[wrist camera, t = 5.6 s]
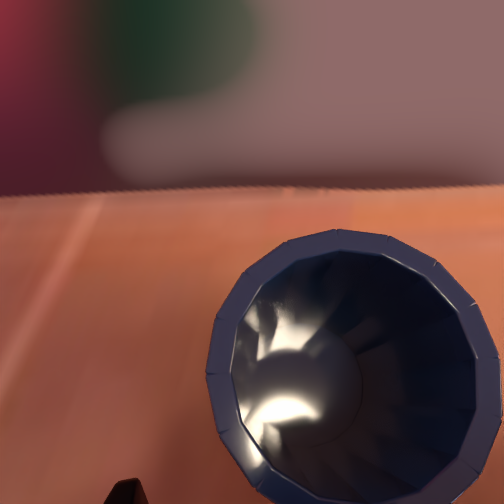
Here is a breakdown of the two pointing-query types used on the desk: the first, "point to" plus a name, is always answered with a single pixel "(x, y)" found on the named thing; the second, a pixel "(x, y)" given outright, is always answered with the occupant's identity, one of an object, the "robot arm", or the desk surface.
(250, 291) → the pencil cup
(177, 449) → the desk surface
